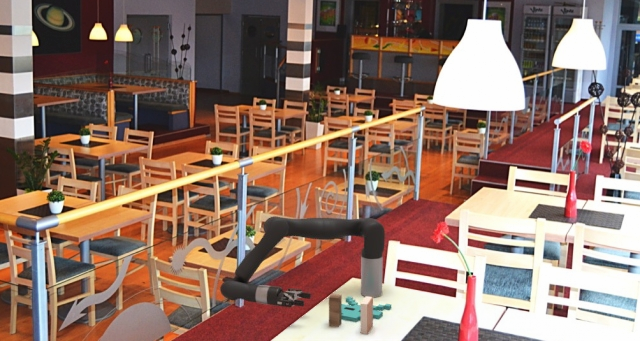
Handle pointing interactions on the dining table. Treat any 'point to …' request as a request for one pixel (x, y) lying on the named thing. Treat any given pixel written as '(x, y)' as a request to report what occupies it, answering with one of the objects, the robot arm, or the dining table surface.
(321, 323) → the dining table surface
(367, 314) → the tile
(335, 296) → the block
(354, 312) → the alien figure
